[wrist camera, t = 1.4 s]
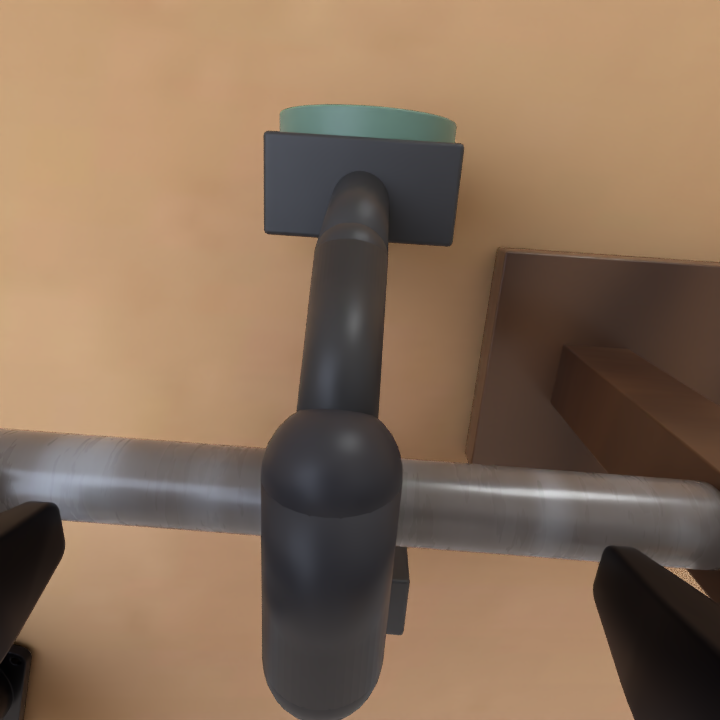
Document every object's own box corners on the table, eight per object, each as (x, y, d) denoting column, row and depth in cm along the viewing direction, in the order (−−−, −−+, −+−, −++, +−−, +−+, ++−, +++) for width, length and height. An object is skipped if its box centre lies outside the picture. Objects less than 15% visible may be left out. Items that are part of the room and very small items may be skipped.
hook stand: (765, 265, 16) (1409, 386, 6) (693, 470, 19) (1056, 790, 9) (160, 223, 16) (-188, 273, 6) (176, 431, 19) (-50, 698, 9)
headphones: (443, 137, 14) (600, 0, 4) (398, 539, 18) (420, 922, 9) (297, 127, 14) (102, -30, 4) (290, 530, 18) (193, 902, 9)
